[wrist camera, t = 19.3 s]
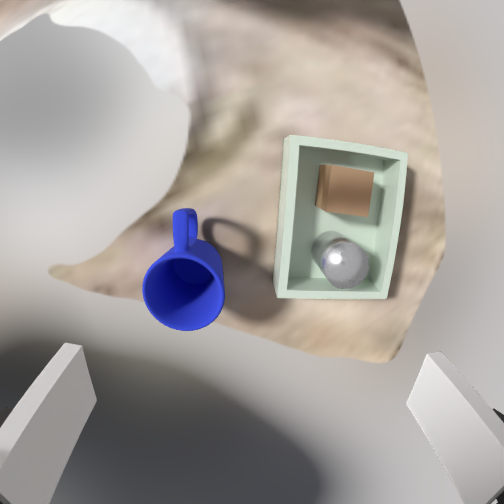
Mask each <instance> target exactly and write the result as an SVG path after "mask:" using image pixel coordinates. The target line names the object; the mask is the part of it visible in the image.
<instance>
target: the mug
mask: <svg viewBox="0 0 504 504" xmlns="http://www.w3.org/2000/svg"><path fill="white" fill-rule="evenodd" d="M197 232H198V223H197V214H196V211H195V210H194V209H191V208H184V209H179V210H177V211H175V212H174V213H173V237H174V247H172V248H171V249H170V250H169V251H168V252H166V253H165V254H164V255H163V256H162V257H160V258H159V259H158V260H157V261H156V262H155V263H153V264H152V265H151V267H150V268H149V269H148V271H147V273H146V275H145V277H144V281H143V298H144V301H145V304H146V306H147V308H148V309H149V311H150V312H151V314H152V315H153V316H154V317H155V318H156V319H157V320H158V321H159V322H161V323H162V324H164V325H166V326H168V327H170V328H173V329H176V330H181V331H193V330H198V329H201V328H203V327H206V326H207V325H209V324H210V323H212V322H213V321H214V320H215V319H216V318H217V317H218V315H219V314H220V312H221V310H222V308H223V305H224V300H225V290H224V278H223V267H222V260H221V257H220V255H219V253H218V252H217V250H216V249H215V248H214V247H213V246H212V245H211V244H209V243H208V242H206V241H203V240H199V239H196V238H197Z"/></svg>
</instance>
